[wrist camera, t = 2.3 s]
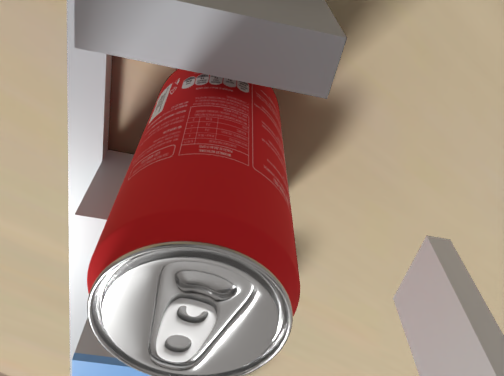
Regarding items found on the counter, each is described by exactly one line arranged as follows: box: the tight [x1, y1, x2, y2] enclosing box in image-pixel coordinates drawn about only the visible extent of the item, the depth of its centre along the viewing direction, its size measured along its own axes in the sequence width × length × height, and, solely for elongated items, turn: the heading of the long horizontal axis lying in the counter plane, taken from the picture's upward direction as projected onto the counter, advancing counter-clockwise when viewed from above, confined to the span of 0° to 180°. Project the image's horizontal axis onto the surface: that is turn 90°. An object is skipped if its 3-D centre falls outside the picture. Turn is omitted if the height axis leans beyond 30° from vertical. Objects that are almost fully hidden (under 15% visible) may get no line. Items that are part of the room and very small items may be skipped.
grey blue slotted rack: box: [67, 0, 347, 376], centre depth 23 cm, size 28×10×5 cm, turn 168°
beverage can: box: [87, 69, 300, 376], centre depth 16 cm, size 5×5×12 cm
